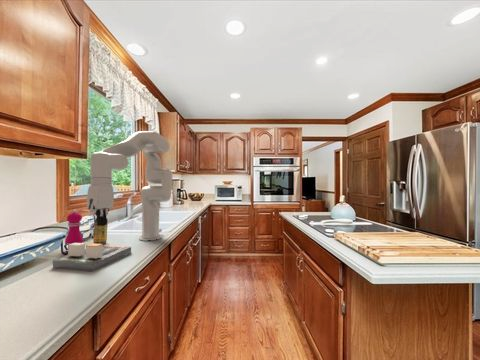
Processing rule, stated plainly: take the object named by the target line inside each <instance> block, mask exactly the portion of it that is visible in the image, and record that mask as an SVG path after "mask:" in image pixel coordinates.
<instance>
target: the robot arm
mask: <svg viewBox="0 0 480 360" xmlns="http://www.w3.org/2000/svg"><path fill="white" fill-rule="evenodd" d="M169 150H170V142H169V141H168V139H167V138H166V137H164V136H163V135H161V133H158V132H156V131H152V130H151V131H149V130H148V131H147V130H146V131H145V130H143V131H137V132H134V133H133V134H132V135H130V136H129V137H128V138H127V139H125V140H124V141H121V142H119V143H116V144H114V145H111V146H107V147H106V148H103V149H102V150H101V151H99V152H98V151H96V152H92V153H91V154H90V158H89V159H90V185H89V186H88V189H87V195H86V209H87V210H89V213H90V214H94V215H95V217H96V218H97V225H99V226H104V225H106V218H107V216H108V213H109V211H112V209H113V206H114V205H115V196H114V187H113V184H112V183H113V179H112V177H113V176H112V175H113V172H112V171H123V170H125V169H126V168H128V165H129V159H128V158H131V157H134V156H137V155H138V154H139V153H140V152H141V151H142V153H143V155H144V157H145V159H146V167H145V175H144V176H145V182H146V183H147V184H150V185H147V186H144V187H142V188H141V190H140V200H141V211H142V212H141V213H142V214H141V235H139V237H138V239H139V240H140V241H142V242H143V241H145V242H148V240H151V241H156V239H157V240H160V239H162V234H160V233H161V232H162V231H163V230H162V228H160V207H159V205H158V203H166V202H169V201H170V200H171V198H172V189H173V188H172V186H173V173H172V171H171V170H170V169H169V168H162V160H161V157H160V156H159V155H158V154H164V153H165V154H166V153H167V152H168V151H169ZM151 184H153V185H151Z"/></svg>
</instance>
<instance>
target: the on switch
mask: <svg viewBox="0 0 480 360" xmlns="http://www.w3.org/2000/svg"><path fill="white" fill-rule="evenodd" d="M85 249H86V243H85V242H84V243H83V242H82V243H72V244H69V245H68V252H67V255H68V256H81V255H84V254H85Z"/></svg>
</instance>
